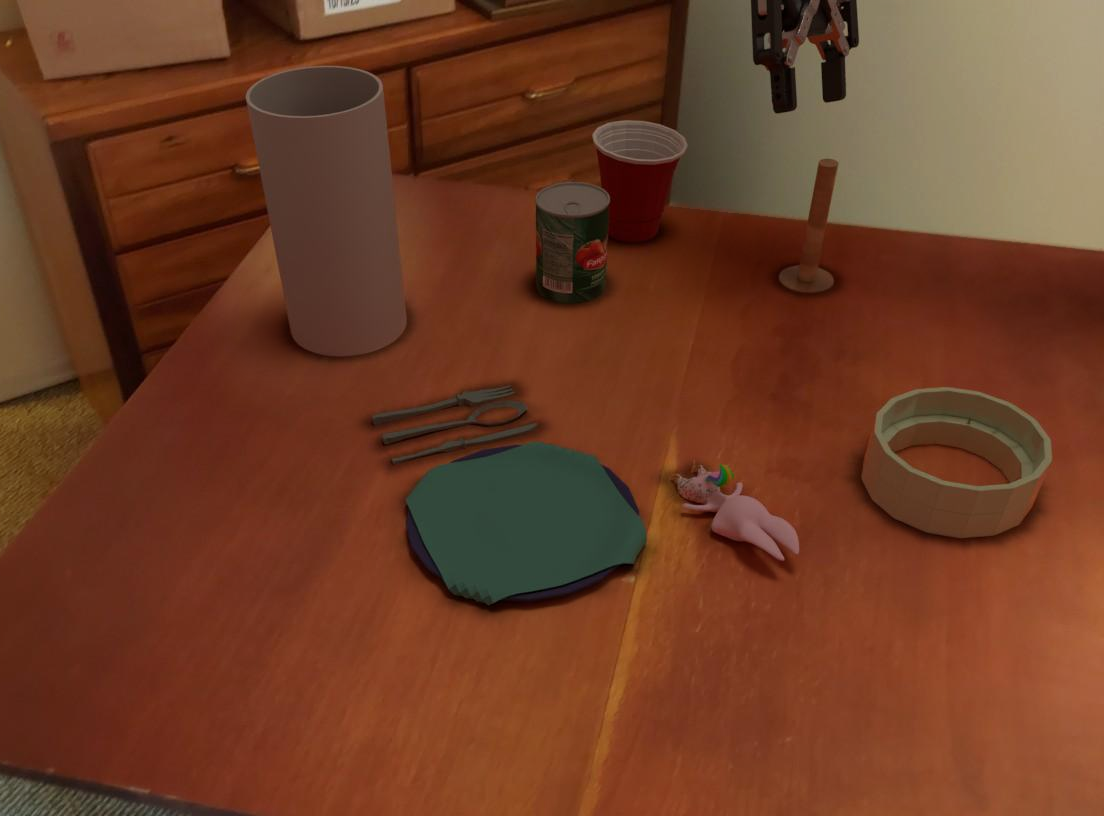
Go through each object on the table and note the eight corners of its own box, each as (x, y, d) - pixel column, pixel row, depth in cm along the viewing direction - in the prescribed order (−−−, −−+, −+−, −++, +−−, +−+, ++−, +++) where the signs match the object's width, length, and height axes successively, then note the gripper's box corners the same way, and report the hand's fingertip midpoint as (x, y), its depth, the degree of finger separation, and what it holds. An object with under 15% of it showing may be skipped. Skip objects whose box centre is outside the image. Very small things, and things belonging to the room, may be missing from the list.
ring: (903, 422, 101) (919, 369, 97) (1053, 482, 94) (1077, 427, 90) (831, 498, 94) (845, 444, 89) (988, 568, 87) (1011, 513, 83)
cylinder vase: (391, 367, 110) (362, 120, 92) (276, 358, 112) (225, 114, 94) (419, 305, 118) (397, 68, 101) (312, 297, 120) (272, 63, 102)
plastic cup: (676, 261, 124) (686, 158, 115) (584, 256, 125) (587, 154, 117) (680, 217, 131) (690, 118, 123) (593, 213, 133) (596, 115, 124)
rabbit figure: (652, 505, 96) (758, 587, 85) (651, 447, 92) (761, 525, 81) (709, 483, 98) (820, 561, 86) (710, 425, 94) (825, 499, 83)
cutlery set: (450, 643, 83) (448, 623, 81) (352, 429, 103) (348, 410, 101) (679, 576, 87) (681, 556, 86) (542, 384, 107) (542, 364, 105)
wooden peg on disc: (794, 267, 122) (816, 145, 112) (841, 283, 119) (869, 160, 109) (767, 288, 119) (788, 165, 109) (815, 305, 116) (841, 180, 106)
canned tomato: (536, 274, 122) (535, 181, 115) (604, 274, 122) (609, 180, 114) (535, 311, 117) (534, 215, 109) (606, 310, 117) (611, 214, 109)
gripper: (791, -97, 90) (802, 111, 97) (879, -100, 98) (884, 92, 105) (719, -73, 95) (734, 121, 102) (808, -78, 103) (817, 103, 110)
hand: (810, 106), depth 103 cm, fingers open, 8 cm apart
